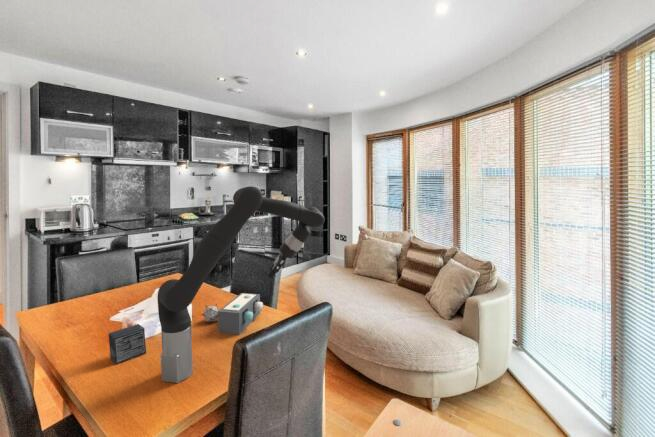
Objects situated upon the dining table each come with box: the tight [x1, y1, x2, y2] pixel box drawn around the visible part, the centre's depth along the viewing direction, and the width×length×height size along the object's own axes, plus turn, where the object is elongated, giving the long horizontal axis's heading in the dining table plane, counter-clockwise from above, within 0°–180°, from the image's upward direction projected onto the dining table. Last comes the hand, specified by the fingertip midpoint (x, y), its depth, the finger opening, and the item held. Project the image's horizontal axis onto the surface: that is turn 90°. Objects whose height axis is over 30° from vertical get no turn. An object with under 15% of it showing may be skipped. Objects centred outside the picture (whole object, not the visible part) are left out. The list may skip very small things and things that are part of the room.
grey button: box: [254, 301, 264, 312], centre depth 156 cm, size 4×3×4 cm
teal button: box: [243, 311, 253, 323], centre depth 144 cm, size 4×3×4 cm
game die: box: [201, 303, 219, 324], centre depth 152 cm, size 9×8×10 cm
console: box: [217, 292, 261, 336], centre depth 151 cm, size 24×10×11 cm, turn 170°
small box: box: [108, 323, 147, 365], centre depth 121 cm, size 11×6×10 cm, turn 141°
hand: (270, 273), depth 143 cm, fingers open, 8 cm apart
